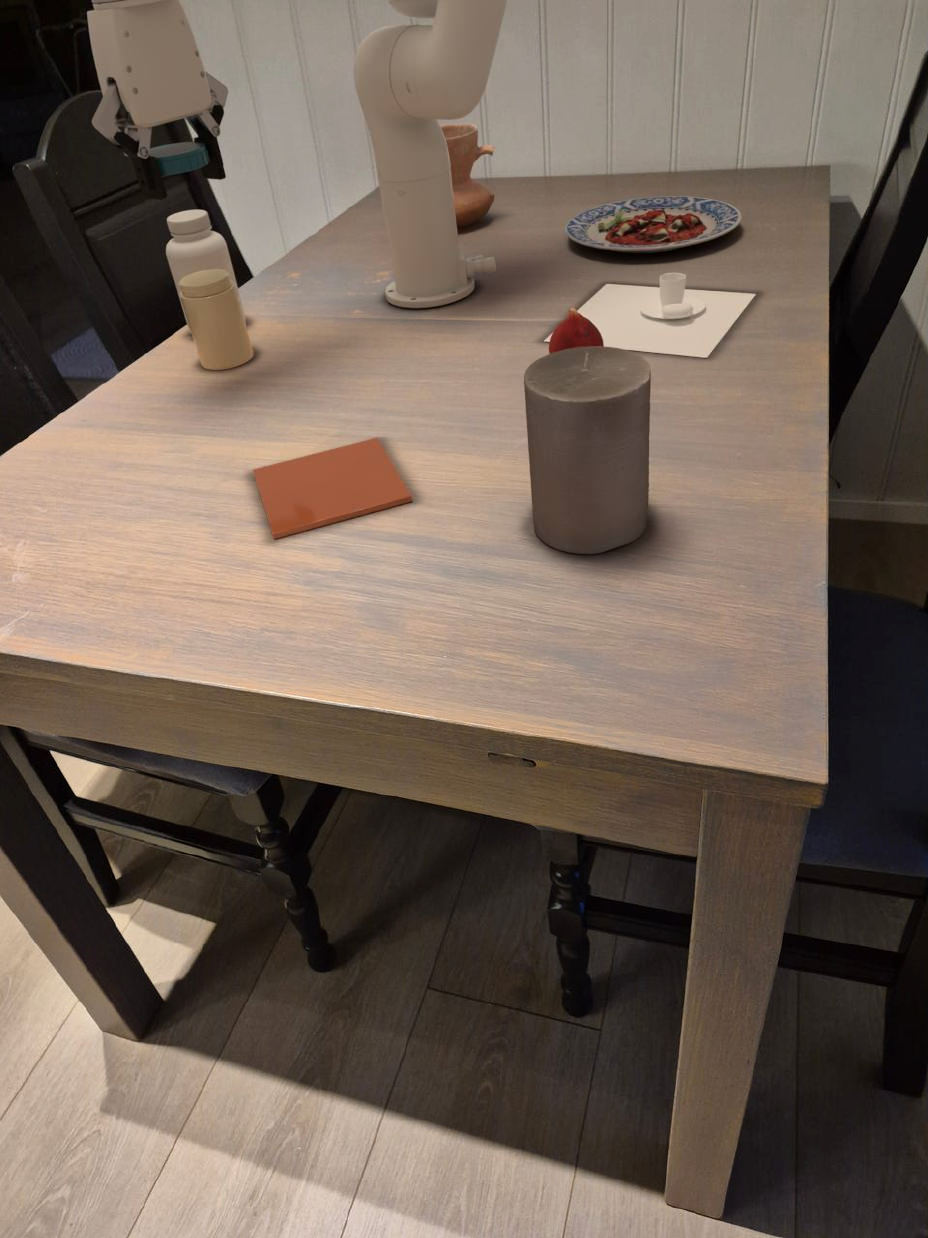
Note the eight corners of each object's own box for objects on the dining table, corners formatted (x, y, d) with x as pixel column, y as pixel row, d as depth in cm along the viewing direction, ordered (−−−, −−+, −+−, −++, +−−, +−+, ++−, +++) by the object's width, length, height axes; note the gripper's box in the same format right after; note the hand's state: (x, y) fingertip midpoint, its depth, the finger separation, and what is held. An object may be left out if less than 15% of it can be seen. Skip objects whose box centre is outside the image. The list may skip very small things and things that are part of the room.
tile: (378, 442, 91) (376, 437, 91) (412, 501, 82) (411, 495, 81) (254, 474, 89) (252, 469, 89) (274, 539, 79) (272, 533, 79)
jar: (242, 343, 118) (220, 263, 111) (261, 358, 113) (239, 275, 107) (194, 359, 116) (168, 278, 109) (211, 374, 111) (185, 291, 104)
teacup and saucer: (691, 327, 105) (693, 292, 102) (627, 321, 109) (627, 288, 106) (713, 300, 111) (716, 267, 108) (652, 296, 114) (653, 264, 112)
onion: (608, 370, 99) (608, 298, 94) (597, 392, 95) (596, 319, 90) (557, 368, 100) (554, 298, 96) (544, 390, 96) (540, 318, 91)
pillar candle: (553, 487, 81) (544, 326, 71) (660, 499, 77) (666, 331, 68) (517, 547, 74) (501, 378, 64) (632, 563, 70) (634, 387, 61)
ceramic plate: (778, 227, 130) (780, 206, 128) (648, 277, 120) (648, 254, 118) (654, 201, 147) (654, 182, 145) (531, 242, 138) (530, 222, 136)
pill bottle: (234, 338, 120) (201, 222, 110) (180, 340, 122) (143, 225, 112) (256, 316, 126) (226, 203, 116) (204, 318, 127) (171, 207, 118)
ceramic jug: (500, 206, 156) (492, 115, 147) (500, 230, 145) (492, 133, 136) (399, 218, 158) (385, 128, 149) (391, 242, 146) (376, 147, 137)
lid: (213, 155, 97) (208, 138, 96) (205, 169, 91) (200, 151, 90) (146, 165, 97) (141, 147, 96) (134, 179, 91) (128, 161, 90)
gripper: (178, -24, 91) (226, 166, 102) (26, 1, 81) (97, 208, 92) (225, -29, 87) (269, 169, 98) (71, -4, 77) (140, 213, 88)
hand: (186, 186), depth 95 cm, fingers closed on lid, 7 cm apart
